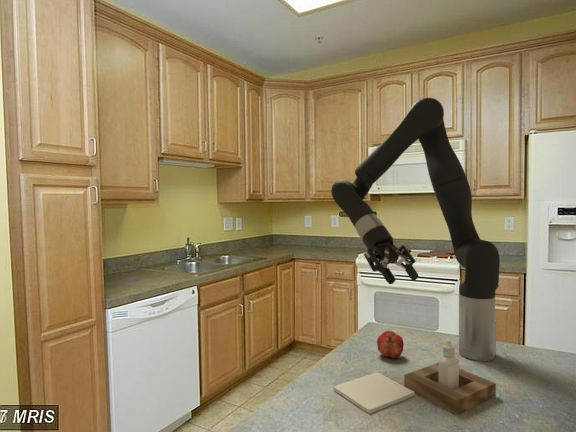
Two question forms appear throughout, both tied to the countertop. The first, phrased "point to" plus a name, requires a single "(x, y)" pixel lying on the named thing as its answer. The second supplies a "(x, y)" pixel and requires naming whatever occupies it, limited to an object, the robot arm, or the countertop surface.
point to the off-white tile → (373, 392)
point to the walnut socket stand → (457, 400)
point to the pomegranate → (390, 344)
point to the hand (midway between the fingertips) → (404, 280)
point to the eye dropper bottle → (449, 367)
